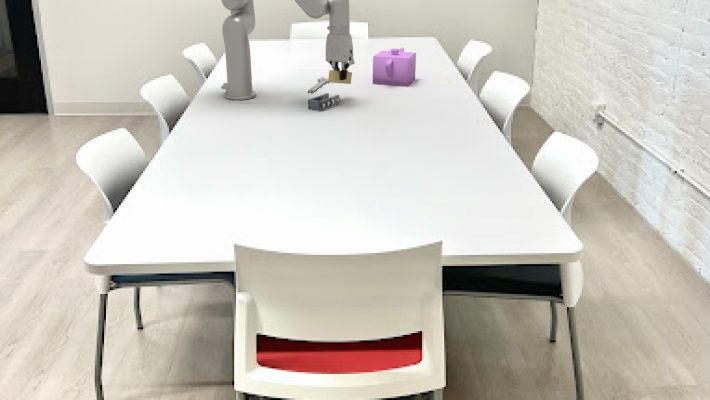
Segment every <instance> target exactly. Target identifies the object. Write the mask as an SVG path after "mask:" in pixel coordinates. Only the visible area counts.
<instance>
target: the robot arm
mask: <svg viewBox="0 0 710 400" xmlns="http://www.w3.org/2000/svg"><path fill="white" fill-rule="evenodd" d="M294 2H295V3H296V4H297V5H298V6H299V8H300V9H301V10H302V11H303V12H304V13H305V15H307V16H308V17H310V18H311V19H320V18H322V17H324V16H327V15H328V16H329V17H328V19H329V20H328V21H329V24H328V26H327V27H326V30H328V31H329V33H327V35H326V39H325V40H326V41H325V62H327V63H328V64H330V66H331V70H334V69H337V71H341V80H342V81H343V80H345V79H347V70H348V69H349V67H351V66H352V65H355V60H354V44H353V38H352V34H351V33H350V31H351V30H350V29H351V27H350V0H294ZM221 4H222V5H223V7H224V8H225V9H226V10H229V11H230V15H228V16H227V17H226V18H225V19H224V21H223V22H222V28H221V31H222V37H223V43H224V44H223V45H224V51H225V64H226V65H225V67H226V81H227V82H223V84H222V85H221V89H222V90H225V92H224V94H223V97H224V98H225V99H228V100H233V101H234V100H235V101H243V100H244V101H245V100H250V99H253V98H256V96H257V91H255V90H253V78H252V76H253V75H252V57H251V47H250V46H251V45H250V40H249V35H251V33H253V32H254V30H255V28H256V14H255V6H254V0H221ZM339 63H341V65H340V64H339ZM339 65H340V66H341V68H340V67H339Z"/></svg>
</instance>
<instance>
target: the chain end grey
mask: <svg viewBox="0 0 710 400" xmlns="http://www.w3.org/2000/svg"><path fill="white" fill-rule="evenodd" d="M318 96H319V97H320V101H322V100H324V99H327V98H330V103H331V104H330V108H333V107H336V106H338V104H339V105H340V102H341V99H340V95H339V94H336V95H333V96H330V94H329V93H328V92H326V93H323V94H320V95H318ZM335 105H336V106H335ZM332 106H333V107H332Z"/></svg>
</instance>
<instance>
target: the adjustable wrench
mask: <svg viewBox="0 0 710 400" xmlns="http://www.w3.org/2000/svg"><path fill="white" fill-rule="evenodd" d="M326 83H328V84H330V82H328V78H325V77H324V76H322V77H319V78H317V83H316V84H314V85H313V86H312V87H310V88H309V89H307V94H309V93H313V94H315V93H317V92H318V91H319V90H320V89H322V86H323V85H324V86H325V85H327V84H326ZM324 86H323V87H324ZM319 88H320V89H319ZM318 89H319V90H318ZM317 90H318V91H317ZM314 92H315V93H314Z"/></svg>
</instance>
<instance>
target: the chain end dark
mask: <svg viewBox="0 0 710 400" xmlns="http://www.w3.org/2000/svg"><path fill="white" fill-rule="evenodd" d="M319 96H320V95H317V96H315V97H312V98H309V99H307V109H308V110H311V109H312V111H316V110H318V111H317V112H322V110H323V111H325V109H326V110H328V109H330V108H331V107H330V104H331V103H330V97H329V98H327V99H324V100H322V101H320V97H319ZM329 107H330V108H329ZM327 108H328V109H327Z"/></svg>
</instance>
